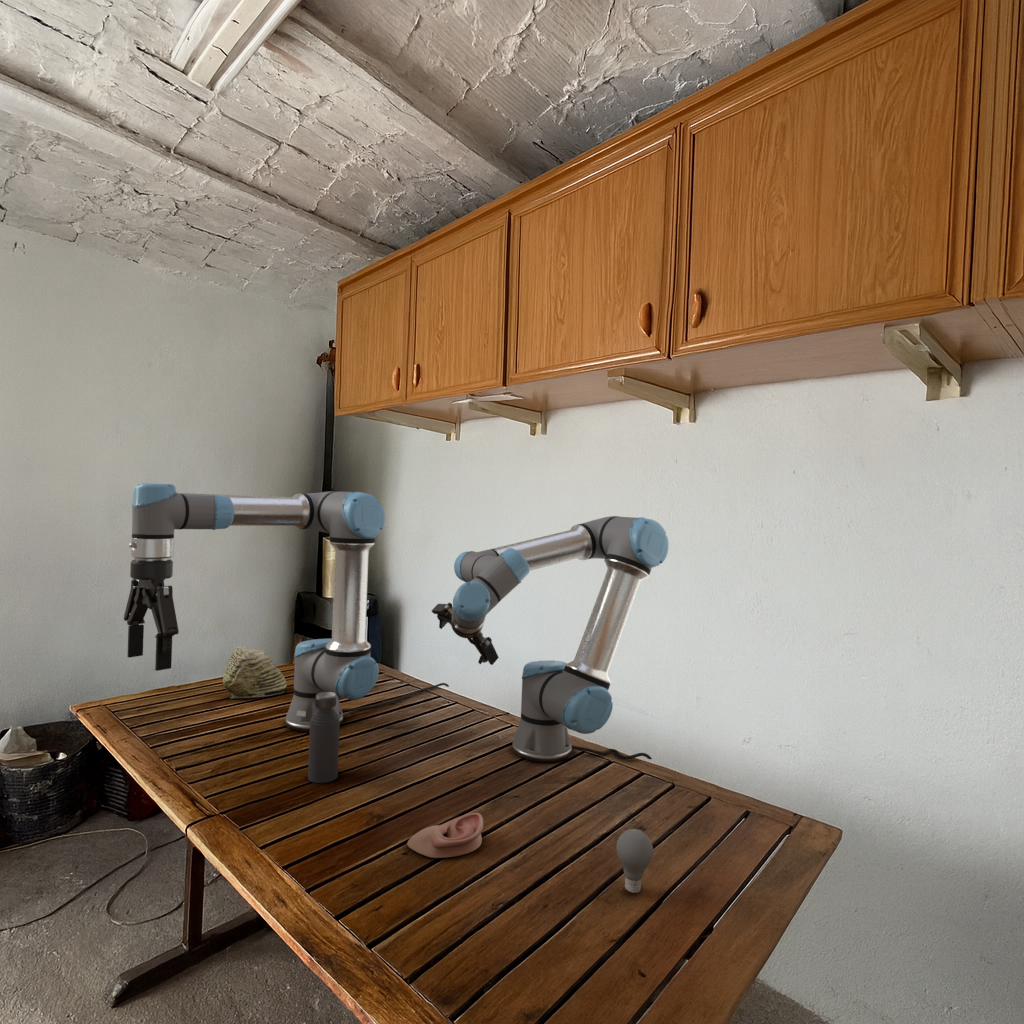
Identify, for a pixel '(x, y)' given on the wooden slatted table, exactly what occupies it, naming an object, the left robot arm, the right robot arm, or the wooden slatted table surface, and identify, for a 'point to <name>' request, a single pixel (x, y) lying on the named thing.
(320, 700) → the cap
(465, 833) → the anatomical model
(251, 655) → the fossil
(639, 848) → the light bulb
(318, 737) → the bottle
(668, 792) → the wooden slatted table surface
